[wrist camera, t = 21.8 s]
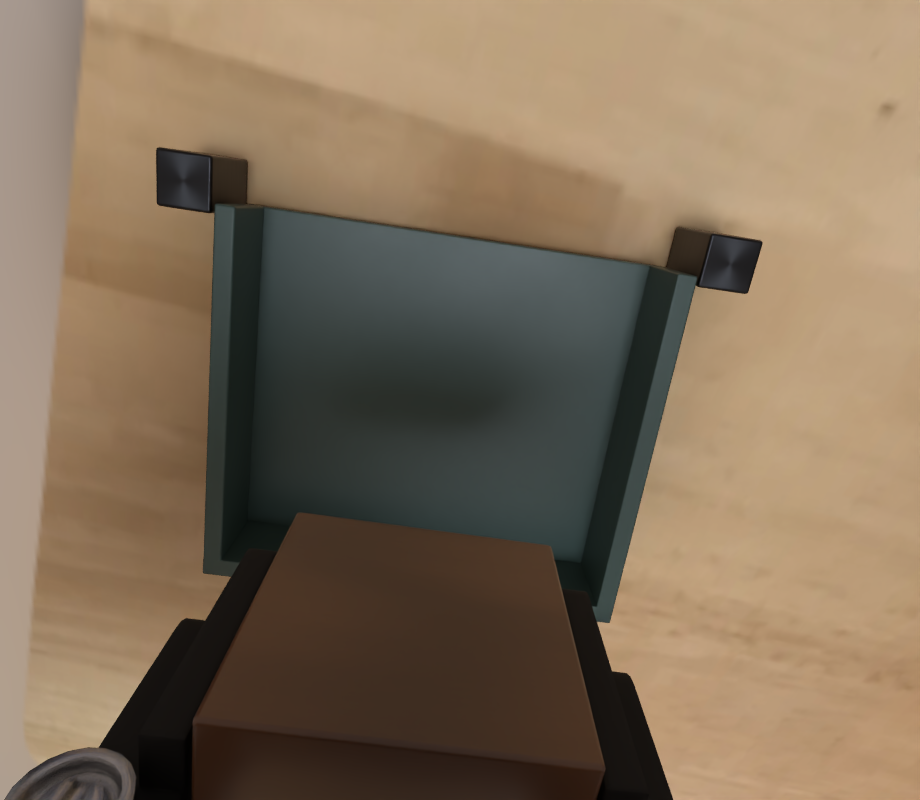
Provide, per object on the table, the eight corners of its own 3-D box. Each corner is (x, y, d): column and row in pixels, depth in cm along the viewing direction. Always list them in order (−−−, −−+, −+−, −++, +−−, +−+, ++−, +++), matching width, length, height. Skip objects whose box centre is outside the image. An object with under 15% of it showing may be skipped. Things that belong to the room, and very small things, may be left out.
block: (282, 711, 12) (186, 990, 8) (297, 509, 11) (189, 721, 6) (508, 738, 12) (531, 1024, 8) (552, 544, 11) (608, 769, 7)
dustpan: (198, 701, 22) (234, 633, 26) (579, 744, 23) (562, 671, 27) (214, 203, 18) (255, 204, 21) (698, 276, 18) (657, 265, 22)
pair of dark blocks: (199, 152, 21) (154, 146, 18) (721, 233, 22) (764, 241, 18) (198, 202, 21) (155, 205, 18) (708, 279, 22) (748, 294, 19)
